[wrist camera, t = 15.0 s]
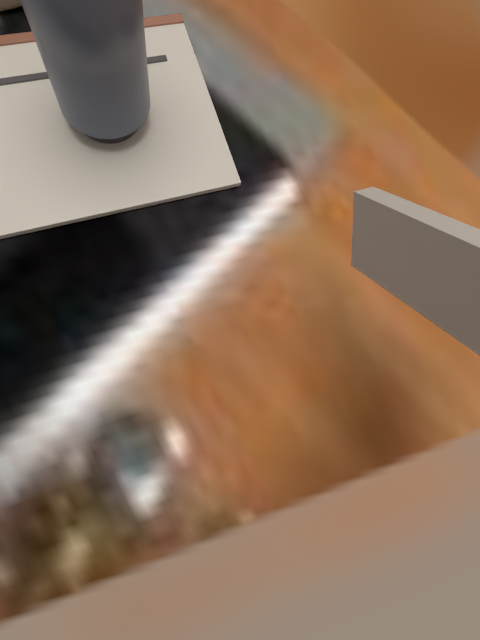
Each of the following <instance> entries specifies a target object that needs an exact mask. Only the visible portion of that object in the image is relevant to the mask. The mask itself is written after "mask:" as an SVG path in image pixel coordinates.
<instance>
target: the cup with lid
mask: <svg viewBox="0 0 480 640" xmlns="http://www.w3.org/2000/svg"><path fill="white" fill-rule="evenodd" d="M20 1H21V4H22V6H23V9H24V12H25V14H26V17H27V20H28V23H29V25H30V28H31V31H32V33H33V36H34V39H35V41H36V44H37V47H38V50H39V52H40V55H41V58H42V60H43V63H44V66H45V68H46V71H47V74H48V77H49V79H50V82H51V85H52V87H53V90H54V93H55V95H56V98H57V101H58V104H59V106H60V109H61V112H62V114H63V116H64V117H65V119H66V120H67V122H68V123H69V124H70V125H71V126H72V127H74V128H75V129H76V130H78V131H79V132H81V133H83V134H85V135H87V136H88V137H89V138H91V139H93V140H95V141H98V142H101V143H108V144H112V143H119V142H122V141H125V140H127V139H129V138H130V137H131V136H133V135H134V134H135V133H136V131H137V130H138V128H139V127H140V126H141V125H142V124H143V123H144V122H145V120H146V118H147V117H148V114H149V110H150V92H149V79H148V67H147V54H146V42H145V29H144V17H143V5H142V0H20Z"/></svg>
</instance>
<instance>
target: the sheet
mask: <svg viewBox="0 0 480 640" xmlns="http://www.w3.org/2000/svg"><path fill="white" fill-rule="evenodd" d="M183 22H184V21H183V18H182V16H181V13H180V14H172V15H164V16H155V17H147V18H144V29H145V42H146V54H147V67H148V79H149V92H150V110H149V114H148V117H147V118H146V120H145V122H144V123H143V124H142V125H141V126H140V127H139V128H138V130H137V131H136V133H135V134H134V135H133V136H131V137H130V138H129V139H127V140H125V141H122V142H119V143H112V144H108V143H101V142H98V141H95V140H93V139H91V138H89V137H88V136H87V135H85V134H83V133H81V132H79V131H78V130H76V129H75V128H74V127H72V126H71V125H70V124H69V123H68V122H67V120H66V119H65V117H64V116H63V114H62V112H61V109H60V106H59V104H58V101H57V98H56V95H55V93H54V90H53V87H52V85H51V82H50V79H49V77H48V74H47V71H46V68H45V66H44V63H43V60H42V58H41V55H40V52H39V50H38V47H37V44H36V41H35V39H34V36H33V33H32V32H25V33H16V34H8V35H0V239H4V238H8V237H13V236H17V235H22V234H26V233H31V232H35V231H40V230H44V229H49V228H53V227H58V226H62V225H67V224H71V223H76V222H80V221H85V220H89V219H94V218H98V217H103V216H107V215H112V214H116V213H120V212H125V211H129V210H134V209H138V208H143V207H147V206H152V205H156V204H161V203H165V202H170V201H174V200H179V199H183V198H188V197H192V196H197V195H201V194H206V193H210V192H215V191H219V190H224V189H228V188H233V187H237V186H240V184H241V181H240V178H239V175H238V173H237V170H236V167H235V164H234V162H233V159H232V156H231V153H230V151H229V148H228V145H227V142H226V139H225V137H224V134H223V131H222V128H221V126H220V123H219V120H218V117H217V115H216V112H215V109H214V106H213V103H212V101H211V98H210V95H209V92H208V90H207V87H206V84H205V81H204V78H203V76H202V73H201V70H200V67H199V65H198V62H197V59H196V56H195V54H194V51H193V48H192V45H191V42H190V40H189V37H188V34H187V31H186V29H185V26H184V23H183Z"/></svg>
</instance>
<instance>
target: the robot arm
mask: <svg viewBox="0 0 480 640" xmlns="http://www.w3.org/2000/svg"><path fill="white" fill-rule="evenodd" d="M351 265H352V266H353V267H354V268H356V269H357V270H359V271H360V272H362V273H363V274H364V275H366V276H367V277H369V278H370V279H371V280H373V281H374V282H376V283H377V284H379V285H380V286H381V287H383V288H384V289H386V290H387V291H389V292H390V293H391V294H393V295H394V296H396V297H397V298H398V299H400V300H401V301H403V302H404V303H406V304H407V305H408V306H410V307H411V308H413V309H414V310H416V311H417V312H418V313H420V314H421V315H423V316H424V317H426V318H427V319H428V320H430V321H431V322H433V323H434V324H435V325H437V326H438V327H440V328H441V329H443V330H444V331H445V332H447V333H448V334H450V335H451V336H453V337H454V338H455V339H457V340H458V341H460V342H461V343H463V344H464V345H465V346H467V347H468V348H470V349H471V350H472V351H474V352H475V353H477V354H478V355H480V229H477V228H475V227H472V226H470V225H467V224H465V223H462V222H460V221H457V220H455V219H452V218H450V217H447V216H445V215H443V214H440V213H438V212H435V211H433V210H430V209H428V208H425V207H423V206H420V205H418V204H415V203H413V202H410V201H408V200H405V199H403V198H400V197H398V196H395V195H393V194H390V193H388V192H385V191H383V190H380V189H378V188H375V187H371V188H367V189H363V190H359V191H355V192H354V207H353V233H352V260H351Z"/></svg>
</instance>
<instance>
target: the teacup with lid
mask: <svg viewBox="0 0 480 640" xmlns="http://www.w3.org/2000/svg"><path fill="white" fill-rule="evenodd" d="M20 6H22V4H21V1H20V0H0V11H5V10H10V9H14V8H17V7H20Z"/></svg>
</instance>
